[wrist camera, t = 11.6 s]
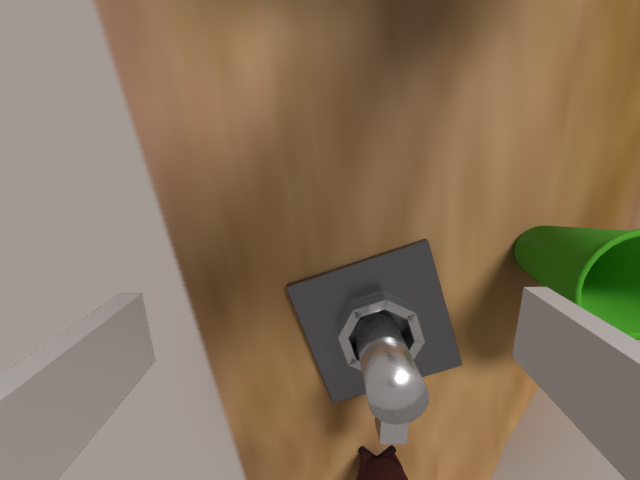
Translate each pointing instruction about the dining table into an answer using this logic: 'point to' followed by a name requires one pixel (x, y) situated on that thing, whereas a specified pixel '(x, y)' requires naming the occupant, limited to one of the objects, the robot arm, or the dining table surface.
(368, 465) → the mate gourd
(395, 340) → the elbow
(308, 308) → the duct flange
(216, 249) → the dining table surface
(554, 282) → the cup
